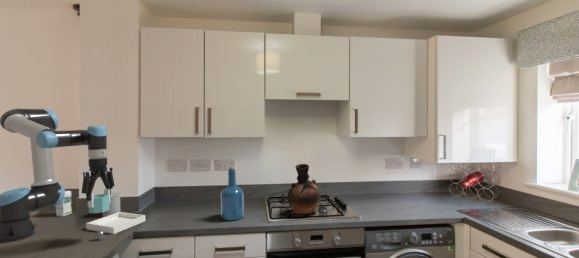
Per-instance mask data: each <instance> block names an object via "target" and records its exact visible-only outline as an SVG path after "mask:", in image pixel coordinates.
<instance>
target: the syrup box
mask: <svg viewBox="0 0 579 258" xmlns="http://www.w3.org/2000/svg"><path fill="white" fill-rule="evenodd" d="M72 202H73V201H72V191H71V190H65V196H64V199H63V201H62V202H61V203H60V204H59V205H57V206H55V214H56V216H57V217H65V216H68V215H71V214H73V203H72Z"/></svg>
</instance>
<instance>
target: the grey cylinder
mask: <svg viewBox="0 0 579 258" xmlns="http://www.w3.org/2000/svg"><path fill="white" fill-rule="evenodd" d="M118 212H121V193H118V192H111V195H110V202H109V210H108V211H105V212H102V218H103V217H106V216H109V215H112V214H115V213H118Z"/></svg>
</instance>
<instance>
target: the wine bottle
mask: <svg viewBox="0 0 579 258" xmlns="http://www.w3.org/2000/svg"><path fill="white" fill-rule="evenodd" d="M227 175H228V176H227V177H228V181H227V183H228V185H227V187H225V188H223V189H222V190H221V192H220V216H221V218H222V219H223V220H225V221H237V220H240V219H242V218H244V215H245V211H244V210H245V205H244V204H245V199H244V193H245V192H244V190H243V189H242V187H241V186H239V185H237V181H236V169H235V167H234V166H229V169H228V173H227Z"/></svg>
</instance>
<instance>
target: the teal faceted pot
mask: <svg viewBox="0 0 579 258" xmlns="http://www.w3.org/2000/svg"><path fill="white" fill-rule="evenodd" d="M93 197H94V207H93V208H91V207H88V213H90V214H99V213H103V212H105V211H108V210H109V194H104V193H100V194H93Z"/></svg>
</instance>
